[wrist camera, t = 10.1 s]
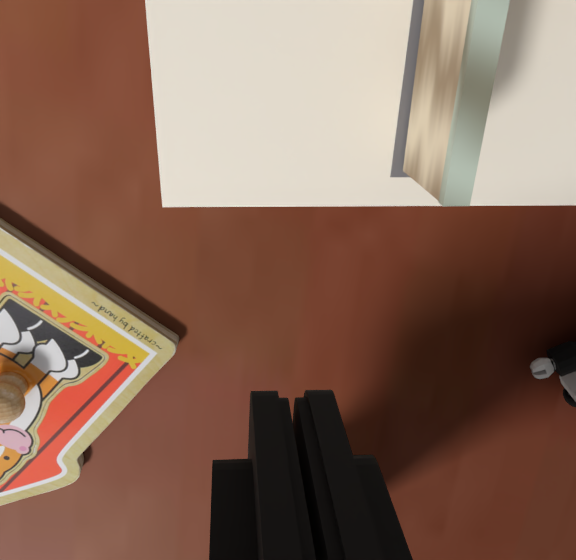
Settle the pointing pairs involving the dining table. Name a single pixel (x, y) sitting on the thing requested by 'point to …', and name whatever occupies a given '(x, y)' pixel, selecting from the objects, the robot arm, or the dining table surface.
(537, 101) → the card
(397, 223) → the dining table surface
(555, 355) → the robot toy
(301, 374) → the dining table surface
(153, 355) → the knob puzzle
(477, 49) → the fence panel
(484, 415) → the dining table surface
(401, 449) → the dining table surface
